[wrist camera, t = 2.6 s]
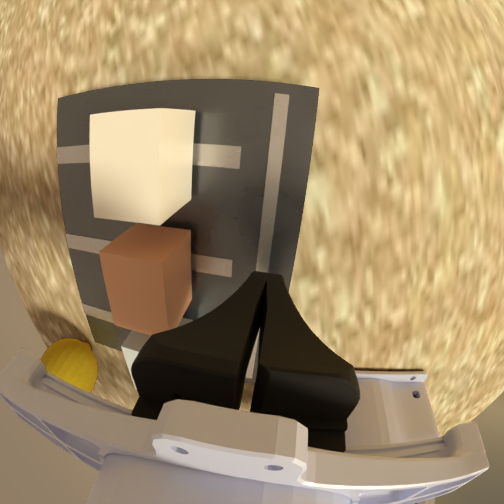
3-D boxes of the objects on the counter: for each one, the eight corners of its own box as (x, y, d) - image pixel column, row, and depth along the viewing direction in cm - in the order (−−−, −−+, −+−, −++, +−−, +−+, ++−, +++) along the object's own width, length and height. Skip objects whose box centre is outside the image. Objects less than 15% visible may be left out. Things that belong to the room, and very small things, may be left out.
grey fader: (192, 319, 15) (173, 361, 12) (195, 364, 17) (180, 402, 14) (146, 309, 16) (121, 346, 13) (154, 353, 17) (135, 389, 14)
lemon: (59, 324, 22) (15, 376, 15) (88, 319, 21) (39, 382, 14) (88, 363, 24) (53, 416, 17) (121, 364, 23) (84, 427, 16)
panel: (315, 93, 12) (319, 88, 10) (271, 364, 20) (268, 385, 18) (79, 97, 13) (57, 98, 11) (106, 327, 21) (94, 342, 19)
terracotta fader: (190, 230, 13) (162, 263, 10) (191, 299, 15) (170, 340, 12) (136, 223, 13) (99, 251, 10) (143, 288, 15) (114, 325, 12)
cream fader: (195, 110, 10) (161, 108, 8) (191, 199, 12) (160, 225, 9) (134, 112, 11) (89, 114, 8) (134, 194, 12) (94, 217, 10)
